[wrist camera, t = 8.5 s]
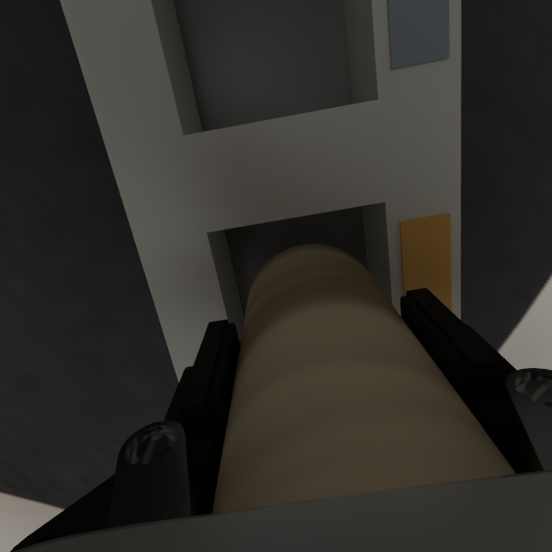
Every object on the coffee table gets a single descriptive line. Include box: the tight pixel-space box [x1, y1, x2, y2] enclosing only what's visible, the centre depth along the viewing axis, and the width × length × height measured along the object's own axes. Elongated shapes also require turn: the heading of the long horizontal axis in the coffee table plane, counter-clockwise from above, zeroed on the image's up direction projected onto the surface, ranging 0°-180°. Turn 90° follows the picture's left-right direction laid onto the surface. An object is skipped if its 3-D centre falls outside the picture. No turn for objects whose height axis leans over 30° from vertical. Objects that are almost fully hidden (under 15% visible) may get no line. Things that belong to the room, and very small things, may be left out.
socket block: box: [60, 0, 461, 381], centre depth 15 cm, size 22×12×5 cm, turn 10°
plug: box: [212, 244, 516, 513], centre depth 9 cm, size 5×5×12 cm
